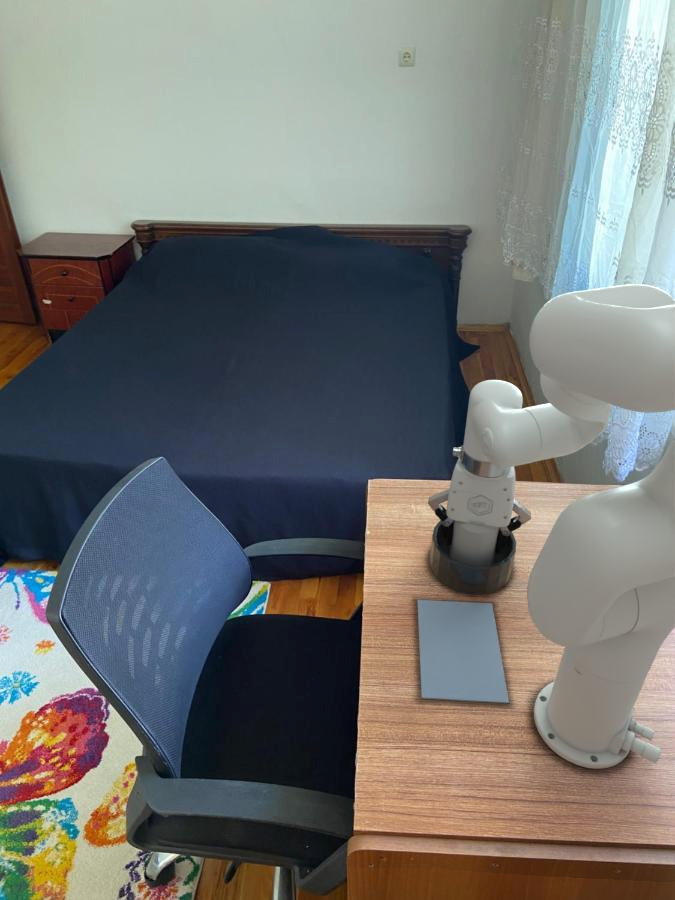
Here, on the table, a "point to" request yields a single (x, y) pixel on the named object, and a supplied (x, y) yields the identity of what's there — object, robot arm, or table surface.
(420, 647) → the cloth
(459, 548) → the can
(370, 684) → the table surface
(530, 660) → the table surface
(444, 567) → the pot
